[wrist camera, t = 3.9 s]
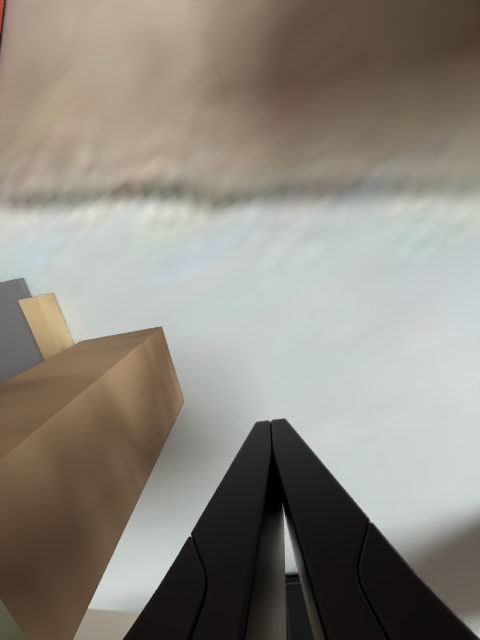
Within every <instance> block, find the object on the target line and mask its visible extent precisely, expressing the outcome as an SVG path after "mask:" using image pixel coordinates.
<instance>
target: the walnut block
mask: <svg viewBox="0 0 480 640" xmlns="http://www.w3.org/2000/svg"><path fill="white" fill-rule="evenodd" d="M183 403H184V400H183V396H182V393H181V390H180V386H179V383H178V379H177V376H176V373H175V369H174V366H173V363H172V359H171V356H170V353H169V349H168V346H167V342H166V339H165V336H164V332H163V329H162V326H161V327H156V328H150V329H145V330H139V331H134V332H129V333H123V334H118V335H112V336H107V337H101V338H96V339H90V340H85V341H81V342H79V343H78V344H76V345H74V346H72V347H70V348H68V349H66V350H64V351H63V352H61V353H59V354H57V355H55V356H53V357H51V358H49V359H47V360H46V361H44V362H42V363H40V364H38V365H36V366H34V367H32V368H31V369H29V370H27V371H25V372H23V373H21V374H19V375H17V376H15V377H14V378H12V379H10V380H8V381H6V382H4V383H2V384H0V640H73V638H74V636H75V634H76V632H77V630H78V627H79V625H80V623H81V621H82V619H83V617H84V614H85V612H86V610H87V608H88V606H89V604H90V602H91V600H92V598H93V595H94V593H95V591H96V589H97V587H98V585H99V583H100V580H101V578H102V576H103V574H104V572H105V570H106V568H107V565H108V563H109V561H110V559H111V557H112V555H113V553H114V550H115V548H116V546H117V544H118V542H119V540H120V538H121V535H122V533H123V531H124V529H125V527H126V525H127V523H128V520H129V518H130V516H131V514H132V512H133V510H134V508H135V506H136V503H137V501H138V499H139V497H140V495H141V493H142V491H143V488H144V486H145V484H146V482H147V480H148V478H149V476H150V473H151V471H152V469H153V467H154V465H155V463H156V461H157V458H158V456H159V454H160V452H161V450H162V448H163V446H164V443H165V441H166V439H167V437H168V435H169V433H170V431H171V428H172V426H173V424H174V422H175V420H176V418H177V416H178V414H179V411H180V409H181V407H182V405H183Z"/></svg>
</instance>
